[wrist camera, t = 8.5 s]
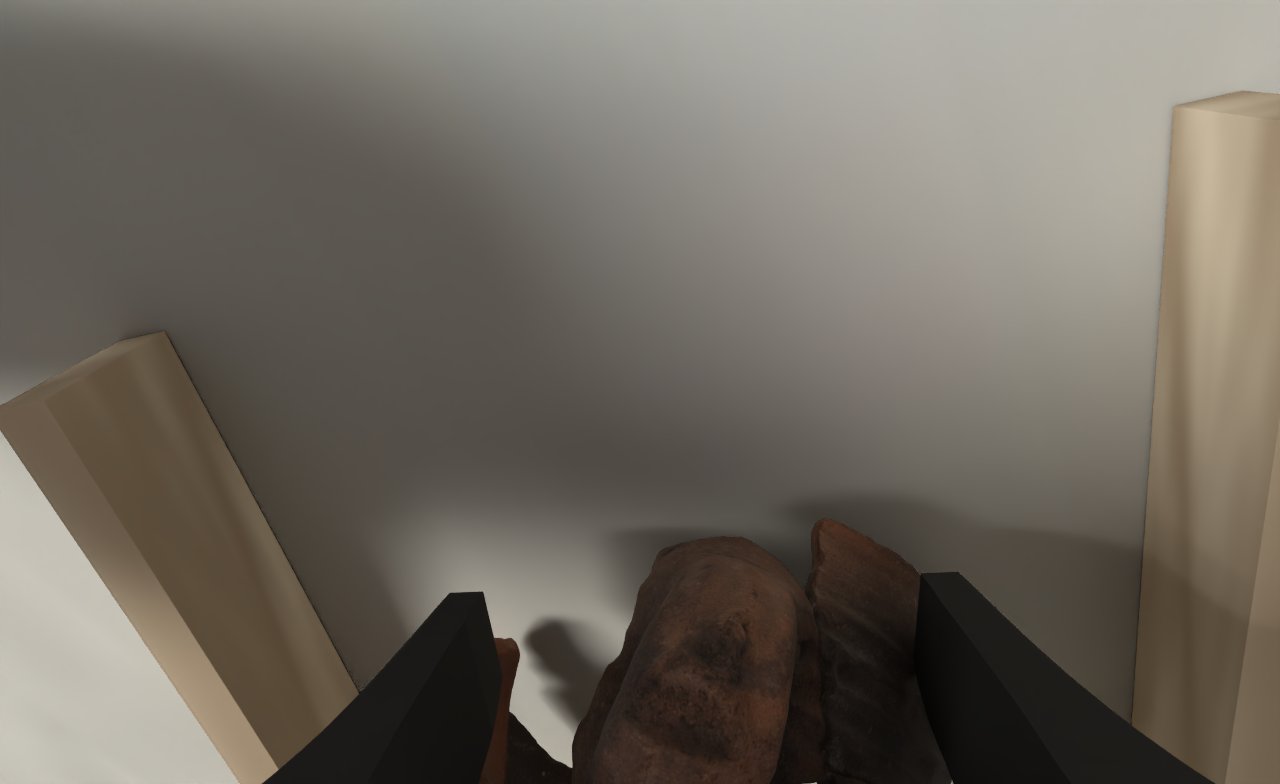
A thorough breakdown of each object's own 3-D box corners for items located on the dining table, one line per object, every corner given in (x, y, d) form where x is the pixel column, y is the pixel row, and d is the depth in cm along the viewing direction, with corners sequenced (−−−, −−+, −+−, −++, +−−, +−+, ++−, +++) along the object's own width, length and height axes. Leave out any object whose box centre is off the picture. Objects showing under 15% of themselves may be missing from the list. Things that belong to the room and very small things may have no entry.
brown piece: (951, 677, 19) (854, 1064, 15) (621, 547, 22) (483, 838, 19) (1117, 470, 9) (940, 1464, 5) (468, 292, 12) (110, 818, 9)
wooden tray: (424, 878, 21) (387, 1000, 19) (118, 341, 14) (-13, 412, 12) (1168, 802, 19) (1251, 933, 16) (1242, 90, 12) (1415, 106, 9)
